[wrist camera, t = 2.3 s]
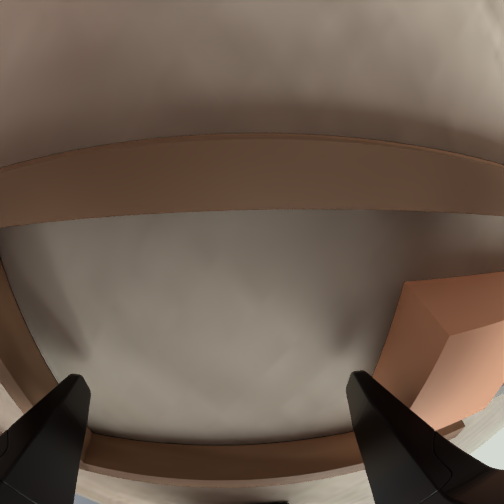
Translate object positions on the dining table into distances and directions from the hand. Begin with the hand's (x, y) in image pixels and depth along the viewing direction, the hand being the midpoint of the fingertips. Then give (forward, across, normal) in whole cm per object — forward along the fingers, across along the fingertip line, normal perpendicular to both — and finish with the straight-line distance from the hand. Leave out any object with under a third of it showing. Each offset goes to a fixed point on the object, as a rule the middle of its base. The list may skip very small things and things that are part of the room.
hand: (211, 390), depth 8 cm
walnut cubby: (+1, -3, 0) cm, 3 cm away
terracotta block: (+1, -9, 0) cm, 9 cm away
